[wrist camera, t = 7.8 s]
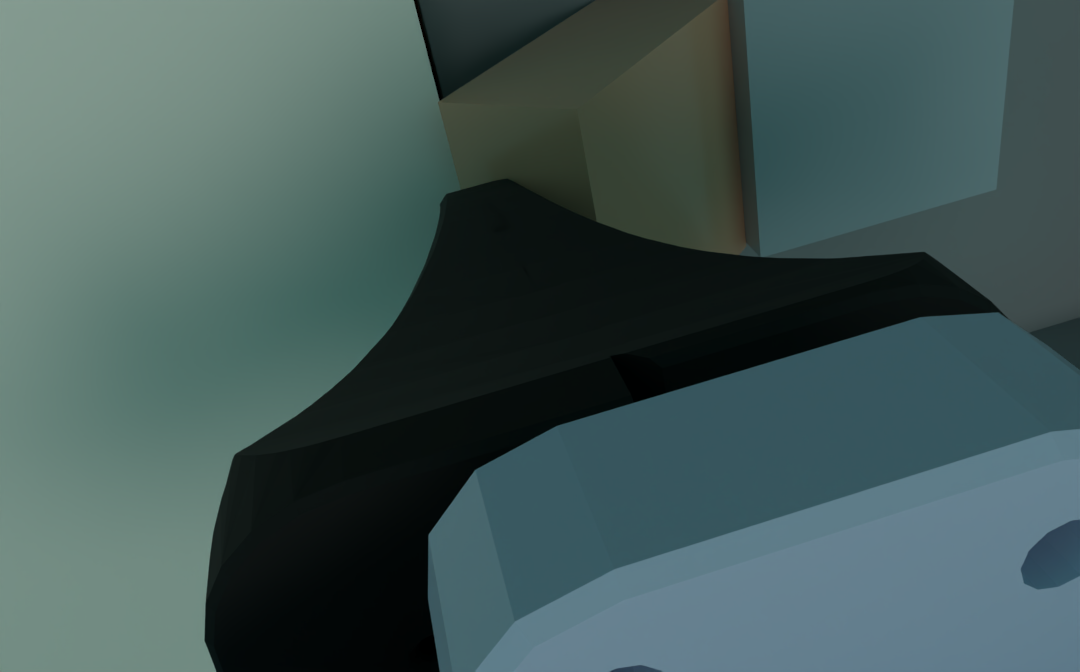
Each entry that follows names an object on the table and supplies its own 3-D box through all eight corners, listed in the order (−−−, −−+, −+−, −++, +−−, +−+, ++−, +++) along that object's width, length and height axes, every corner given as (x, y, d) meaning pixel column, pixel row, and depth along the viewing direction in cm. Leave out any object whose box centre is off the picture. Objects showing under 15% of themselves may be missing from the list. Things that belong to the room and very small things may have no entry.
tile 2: (760, 258, 14) (711, 206, 16) (996, 189, 15) (924, 146, 16) (743, -4, 12) (689, -31, 14) (1021, -78, 12) (935, -97, 14)
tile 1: (636, 231, 16) (746, 246, 15) (506, 364, 13) (627, 394, 12) (601, -4, 14) (727, -7, 13) (438, 103, 11) (577, 109, 10)
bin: (1127, 318, 21) (1264, 409, 18) (543, 496, 19) (587, 625, 16) (1327, -673, 12) (1660, -816, 9) (298, -460, 11) (300, -546, 8)
